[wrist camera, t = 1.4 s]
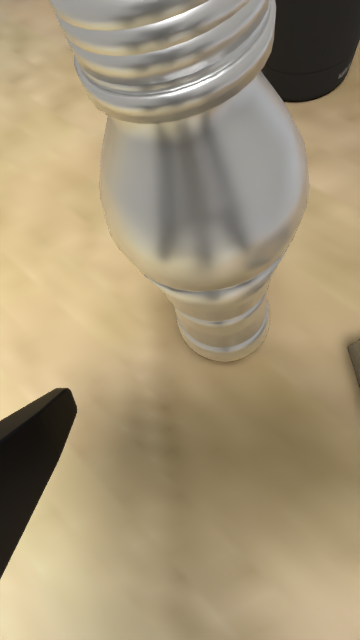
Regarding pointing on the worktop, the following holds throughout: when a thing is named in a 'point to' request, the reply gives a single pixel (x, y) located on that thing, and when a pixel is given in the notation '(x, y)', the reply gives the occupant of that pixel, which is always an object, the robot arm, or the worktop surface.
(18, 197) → the worktop surface
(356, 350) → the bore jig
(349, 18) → the pen holder
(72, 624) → the worktop surface
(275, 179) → the plastic bottle
